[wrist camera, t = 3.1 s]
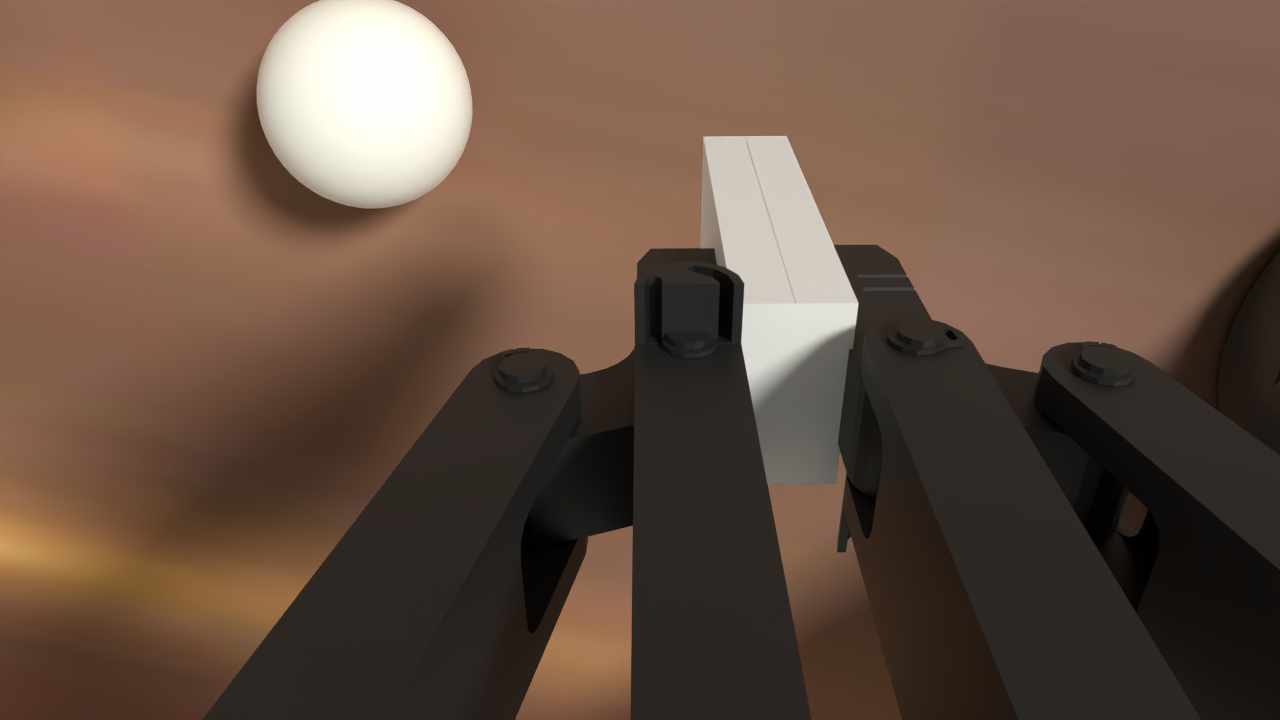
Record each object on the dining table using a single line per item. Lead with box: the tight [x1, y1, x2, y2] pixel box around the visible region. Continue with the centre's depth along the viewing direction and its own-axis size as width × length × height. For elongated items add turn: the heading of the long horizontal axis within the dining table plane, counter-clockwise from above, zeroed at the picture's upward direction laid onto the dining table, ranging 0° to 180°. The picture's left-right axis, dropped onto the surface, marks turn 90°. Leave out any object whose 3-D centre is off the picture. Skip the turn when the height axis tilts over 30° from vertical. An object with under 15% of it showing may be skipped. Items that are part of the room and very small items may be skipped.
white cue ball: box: [257, 0, 472, 209], centre depth 25 cm, size 6×6×6 cm
